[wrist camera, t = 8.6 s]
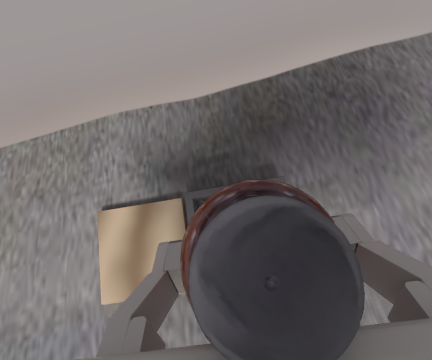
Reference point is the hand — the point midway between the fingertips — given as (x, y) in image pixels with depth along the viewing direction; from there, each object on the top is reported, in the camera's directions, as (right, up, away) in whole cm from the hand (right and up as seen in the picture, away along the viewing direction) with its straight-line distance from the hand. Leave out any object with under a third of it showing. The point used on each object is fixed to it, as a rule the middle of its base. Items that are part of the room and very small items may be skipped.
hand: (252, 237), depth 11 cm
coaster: (-10, -5, +14) cm, 18 cm away
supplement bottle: (+1, -2, +6) cm, 6 cm away
